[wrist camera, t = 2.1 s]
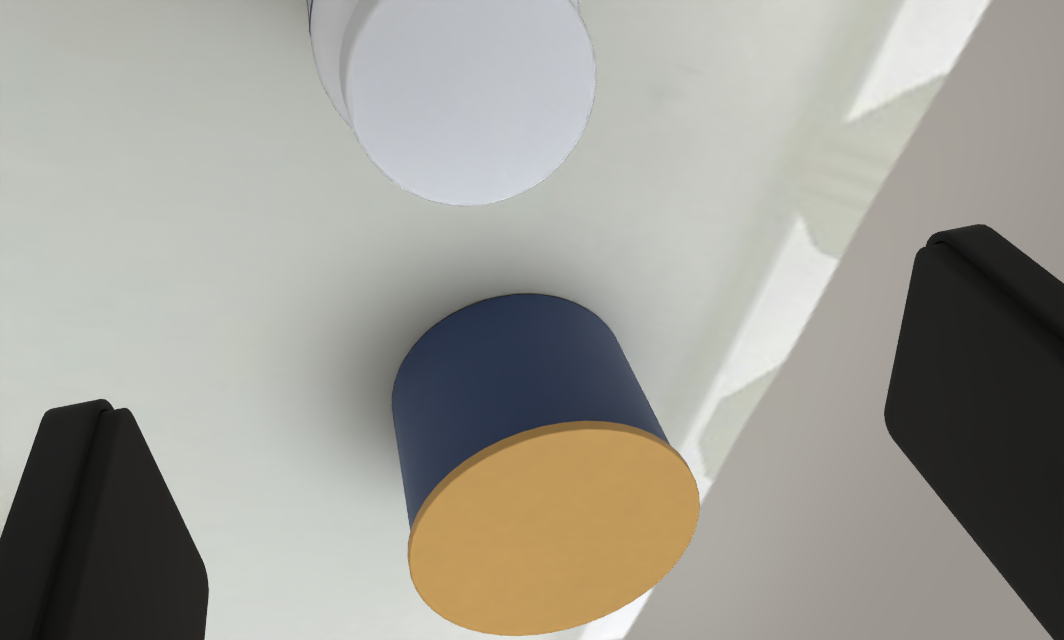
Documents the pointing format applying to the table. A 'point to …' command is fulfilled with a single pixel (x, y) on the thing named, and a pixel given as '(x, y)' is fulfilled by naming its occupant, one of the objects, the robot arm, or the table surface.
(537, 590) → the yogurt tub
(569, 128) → the pill bottle
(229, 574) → the table surface
